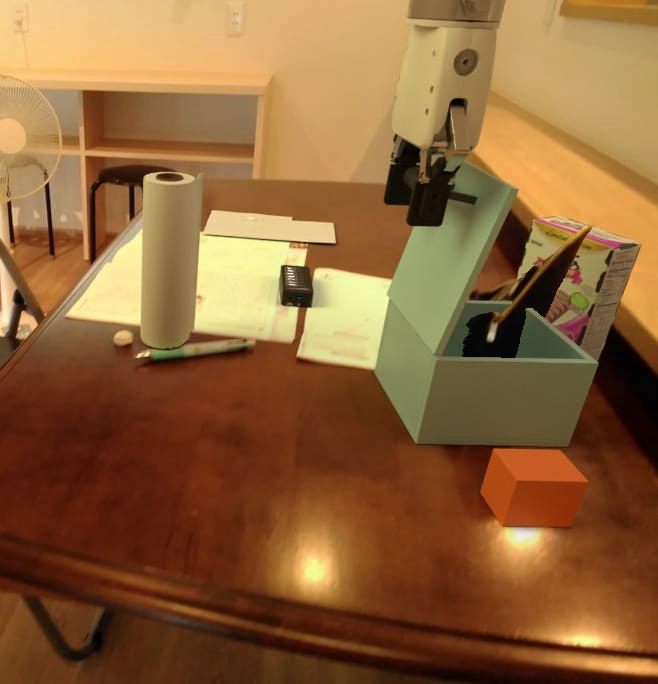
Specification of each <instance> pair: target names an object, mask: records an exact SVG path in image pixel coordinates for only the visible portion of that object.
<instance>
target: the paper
mask: <svg viewBox="0 0 658 684" xmlns="http://www.w3.org/2000/svg"><path fill="white" fill-rule="evenodd" d="M205 224H206V225H205V227H204V229H203V232H202V234H203V235H213V236H227V237H236V238H237V237H238V238H239V237H240V238H249V239H250V238H251V239H262V240H263V239H264V240H276V241H289V242H290V241H291V242H303V243H304V242H306V243H322V244H336V243H337V241H336V231H335V224H334V222H325V221H309V220H307V221H306V220H293V216H281V215H271V214H262V213H253V212H250V213H249V212H234V211H228V210H227V211H225V210H214V209H212V210H211V212H210V214H209V217H208V219H207V221H206V223H205Z"/></svg>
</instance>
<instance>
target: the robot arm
mask: <svg viewBox="0 0 658 684" xmlns="http://www.w3.org/2000/svg"><path fill="white" fill-rule="evenodd" d="M506 1H507V0H409V2H408V7H407V13H406V18H405V23H404V25H406V26H407V25H408V26H411V31H410V35H409V38H408V42H407V45H406V48H405V49H406V50H405V53H404V57H403V60H402V64H401V69H400V73H399V78H398V81H397V87H396V92H395V96H394V102H393V106H392V107H393V108H392V114H391V129H392V131H393V132H394V133H395V134H394V135H393V139H392V141H393V148H392V151H391V153H390V158H389V159H390V164H389V167H388V173H387V178H386V184H385V189H384V194H383V199H382V201H383V203H384V204H385V205H386V206H405V207H406V206H407V207H408V208H407V214H406V218H405V223H406V224H407V225H408V226H410V227H414V226H425V227H439V226H441V225H442V223H443V219H444V215H445V210H446V206H447V202H448V198H449V194H450V189H451V185H453V184H454V182H455V177H456V173H457V171H458V170H459V168H460V167H461V164H462V162H463V161H464V160H466V159H467V158H468V156H469V155H470V152H472V151H473V150H475V149H476V148H477V146H478V145H479V142H480V138H481V134H482V129H483V126H484V120H485V116H486V111H487V106H488V101H489V95H490V91H491V86H492V79H493V73H494V67H495V58H496V57H495V56H496V48H497V36H498V35H497V33H498V30H499V29H500V26H501V21H502V17H503V13H504V9H505V5H506ZM442 142H444V143H446V145H447V146H442V145H441V146H440V145H439V146H438V145H436V146H435V143H442ZM433 156H434V157H435V156H438V157H437V158H436V160H435V161H434V162H433V163H432V159H433ZM411 167H419V168H420V175H419V181H414V185H413V190H412V189H410V188H409V187H408V186H407V185H405V183H404V181H403V176H404V173H405V172H406V171H407V170H408V169H409V168H411Z"/></svg>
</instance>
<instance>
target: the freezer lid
mask: <svg viewBox="0 0 658 684" xmlns="http://www.w3.org/2000/svg"><path fill="white" fill-rule="evenodd" d="M419 175H420V168H419V167H411V168H409V169H408V170H407V171H406V172H405V173H404V176H403V181H404V183H405V185H407V186H408V187H409V188H410V189H412V190H413V185H414V181H419ZM519 191H520V189H519V188H518V187H517V186H514V185H513V184H510V183H509V182H507V181H505V180H503V179H501V178H500V177H497V176H495V175H494V174H492V173H490V172H488V171H486V170H484V169H482V167H481V168H480V167H479V166H477V165H475V164H473V163H472V162H470V161H467V160H466V159H465V160H464V161H463V162H462V164H461V167H460V168H459V170H458V171H457V173H456V177H455V182H454V184H453V185H451V189H450V194H449V198H448V202H447V206H446V210H445V215H444V219H443V223H442V225H441V226H439V227H425V226H413V228H412V230H411V233H410V235H409V238H408V240H407V243H406V245H405V247H404V249H403V253H402V255H401V257H400V260H399V262H398V265H397V267H396V269H395V272H394V274H393V277H392V279H391V282H390V284H389V287H388V289H387V291H386V296H387V297H388V299H391V301H392V302H393V303H394V304H395V306H396V307H397V308H398V310H399V311H400V312H401V313H402V315H403V316H404V317H405V318H406V320H407V321H408V322H409V324H410V325H411V326H412V327H413V329H414V330H415V331H416V333H417V334H418V335H419V336H420V338H421V339H422V340H423V341H424V343H425V344H426V345H427V347H428V348H429V349H430V350H431V352H432V353H433V354H434V355H439V356H441V355H442V353H443V351H444V349H445V347H446V345H447V342H448V340H449V338H450V336H451V334H452V332H453V330H454V328H455V325H456V323H457V321H458V319H459V317H460V315H461V313H462V311H463V308H464V306H465V304H466V302H467V300H469V297H470V296H471V293H472V292H473V289H474V287H475V285H476V283H477V280H478V279H479V277H480V275H481V272H482V270H483V268H484V267H485V264H486V261H487V259H488V258H489V255H490V253H491V251H492V249H493V246H494V244H495V242H496V240H497V238H498V237H499V234H500V231H501V229H502V228H503V225H504V223H505V221H506V218H507V217H508V215H509V213H510V210H511V208H512V206H513V203H514V202H515V199H516V197H517V196H518V193H519Z"/></svg>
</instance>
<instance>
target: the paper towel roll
mask: <svg viewBox="0 0 658 684" xmlns="http://www.w3.org/2000/svg"><path fill="white" fill-rule="evenodd" d="M204 174H205V173H204V172H201V173H199V174H198V175H197V178H196V177H194V176H193V175H190V174H188V173H184V172H183V173H182V172H175V171H174V172H173V171H158V172H151V173H148V174H145V175H144V176H143V183H142V185H143V186H142V227H141V229H142V231H141V232H142V233H141V234H142V237H141V238H142V239H141V277H140V279H141V281H140V282H141V283H140V286H141V287H140V290H141V291H140V329H139V330H140V335H139V337H140V339H141V342H142V343H143V344H144V345H146V346H148V347H151V348H154V349H160V350H161V349H162V350H167V349H166V348H169V349H174V348H173V347H175V348H179V347H181V346H182V345H184V344H185V343H187V341H189V340H190V335H191V332H192V331H193V330H195V326H196V325H195V324H196V309H197V308H196V307H197V291H198V289H197V288H198V274H199V256H200V255H199V254H200V242H201V241H200V240H201V226H202V225H201V223H202V222H201V221H202V208H203V207H202V206H203V190H204V188H203V187H204Z"/></svg>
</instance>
